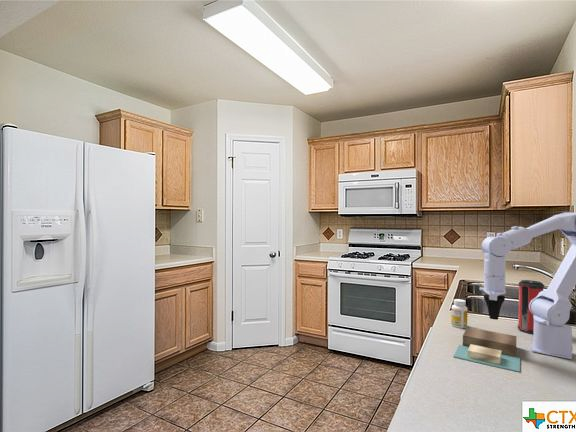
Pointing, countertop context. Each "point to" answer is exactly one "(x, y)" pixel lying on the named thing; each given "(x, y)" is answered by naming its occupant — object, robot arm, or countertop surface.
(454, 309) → the supplement bottle
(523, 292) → the speaker
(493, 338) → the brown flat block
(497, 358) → the maple block
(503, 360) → the mat
